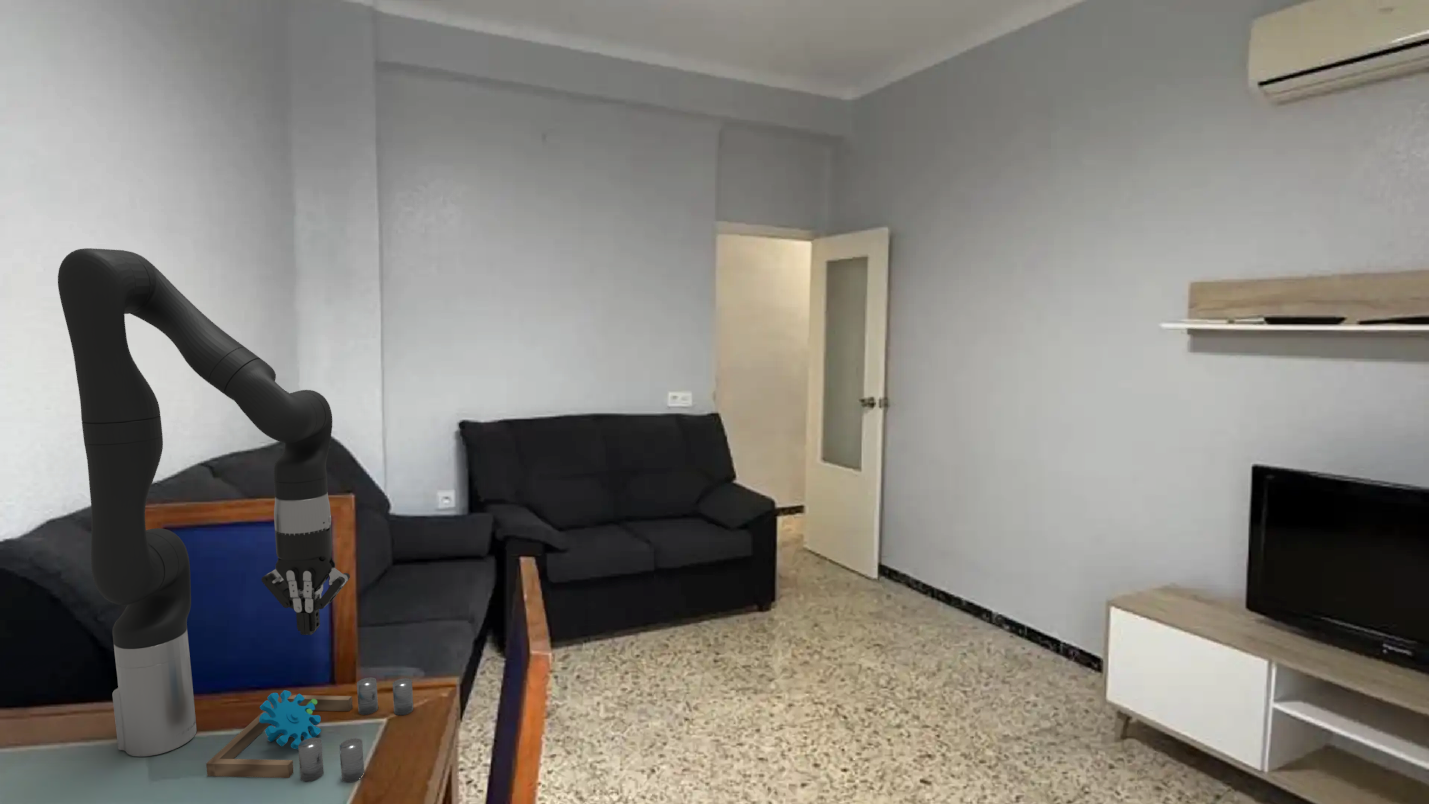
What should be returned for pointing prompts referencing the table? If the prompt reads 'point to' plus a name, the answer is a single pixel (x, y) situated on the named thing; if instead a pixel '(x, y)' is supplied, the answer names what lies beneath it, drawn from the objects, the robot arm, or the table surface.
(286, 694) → the gear
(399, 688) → the spacers
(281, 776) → the frame
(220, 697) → the table surface
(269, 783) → the table surface
